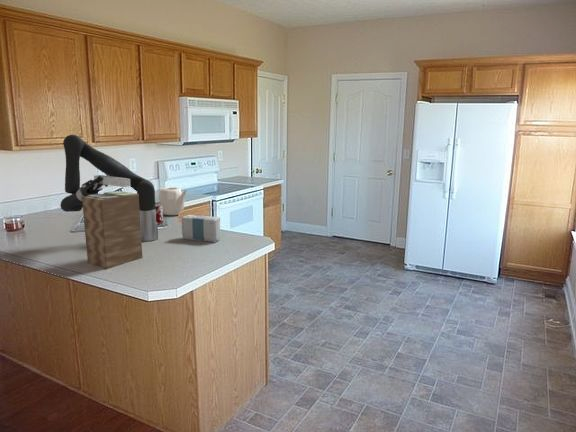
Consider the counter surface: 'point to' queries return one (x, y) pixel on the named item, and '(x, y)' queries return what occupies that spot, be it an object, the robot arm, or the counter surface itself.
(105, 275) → the counter surface
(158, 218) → the soda can
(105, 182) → the bar
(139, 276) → the counter surface
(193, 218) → the white banded box
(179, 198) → the cream teapot
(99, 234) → the stand
